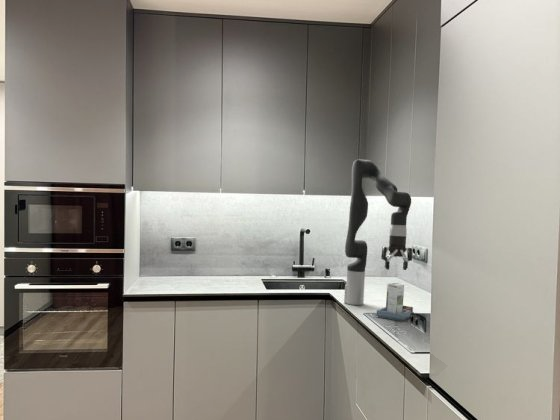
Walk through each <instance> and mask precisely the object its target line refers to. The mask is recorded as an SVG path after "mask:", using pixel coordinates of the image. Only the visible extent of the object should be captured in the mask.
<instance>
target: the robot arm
mask: <svg viewBox="0 0 560 420" xmlns="http://www.w3.org/2000/svg"><path fill="white" fill-rule="evenodd" d="M364 178H365V179H367V178H368V179H370V180H372V181H374V182H375V185H374V186H375V187H376V189H377V191H378V192H380V194H382V195H383V196H384V198H385V200H386V201H387V203H388V204H389V205H390V206H392V207H395V208H398V209H397V211H395V212H392V213H391V215H390V227H389V239H388V245H389V246H388V247H386V246H382V248H381V260H383V261H384V268H385V270H390V265H391V264H390V260H391V259H393V257H394V258H397V257H399V258H402V260H403V261H402V262H403V263H402V264H403V265H402V270H403V271H406V270H407V269H408V267H409V264H408V263H409V262H410V261H413V248H412V247H406V245H407V236H408V235H407V230H408V229H407V219H408V214H409V211H410V209H411V205H412V197H411V195H410V194H409V193H408V192H405V191H398V188H397V186H396V185H395V184H394V183H393V182H391V180H389V179H388V178H387V177H386V176H385V175H384V174H383V173H382V171H381V170H380V169H379V167H378V166H377V165H376V164H375V162H374V161H372V160H369V159H355V160H354V161H353V163H352V166H351V193H350V194H351V195H350V196H351V197H350V205H349V212H348V214H349V215H348V216H349V217H348V227H347V232H346V233H347V235H346V240H345V246H344V253H345V256H346V257H347V258H349V259H351V258H353V259H356V260H355V261H354V262H352V263H349V264H347V270H346V284H345V285H344V299H343V303H344V304H347V305H353V306H362V305H364V300H365V299H364V298H365V277H366V267H367V257H368V243H367V242H366V240H361V239H358V240H356V236H357V233H358V231H359V229H360V228H361V226H362V225H363V223H365V221H366V220H367V217H368V213H369V212H368V211H369V202H368V198H367V196H366V194H365V192H364V189H363V179H364ZM387 252H388V254H387ZM406 253H407V254H406Z"/></svg>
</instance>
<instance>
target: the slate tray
mask: <svg viewBox="0 0 560 420" xmlns="http://www.w3.org/2000/svg"><path fill="white" fill-rule="evenodd" d="M411 314H412V313H411V311H410V310H404V309H403V313H402V314H398V313H392V312H386V306H385V307H381V308H378V309H377V310H376V316H378V317H377V318H380V317H383V318H382V319H386V318H388V319H387V320H393V321H398V322H403V321H405V320H407V319H410V318H411V317H410V315H411ZM376 316H375V317H376ZM411 316H412V315H411ZM409 317H410V318H409Z"/></svg>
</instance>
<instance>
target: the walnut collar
mask: <svg viewBox="0 0 560 420" xmlns="http://www.w3.org/2000/svg"><path fill="white" fill-rule="evenodd" d="M403 309H404V310H410V311H411V314H412V313H414V307H413V306H410V305H409V306H408V305H403Z"/></svg>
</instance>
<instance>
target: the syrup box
mask: <svg viewBox="0 0 560 420" xmlns="http://www.w3.org/2000/svg"><path fill="white" fill-rule="evenodd" d="M404 295H405V284H402V283H400V282H391V283H387V285H386V301H385V307H386V312H392V313H398V314H402V313H403V306H404V298H405V296H404Z"/></svg>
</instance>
